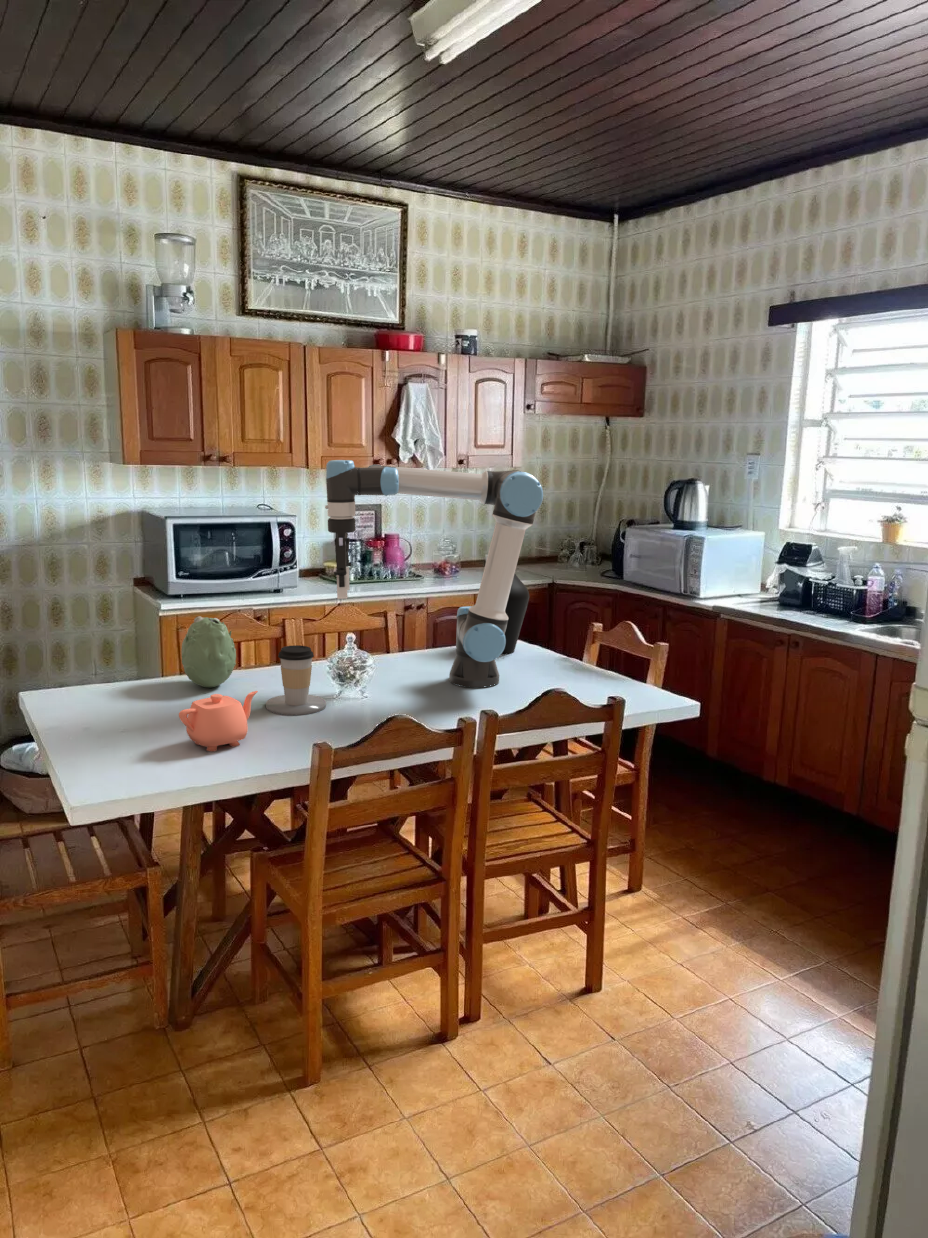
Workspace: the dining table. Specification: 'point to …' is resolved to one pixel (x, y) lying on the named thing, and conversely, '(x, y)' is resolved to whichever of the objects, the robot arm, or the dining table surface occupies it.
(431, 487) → the robot arm
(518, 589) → the vase
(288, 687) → the coffee cup
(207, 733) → the teapot
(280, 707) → the coaster
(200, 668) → the green bumpy egg shape
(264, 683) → the dining table surface
